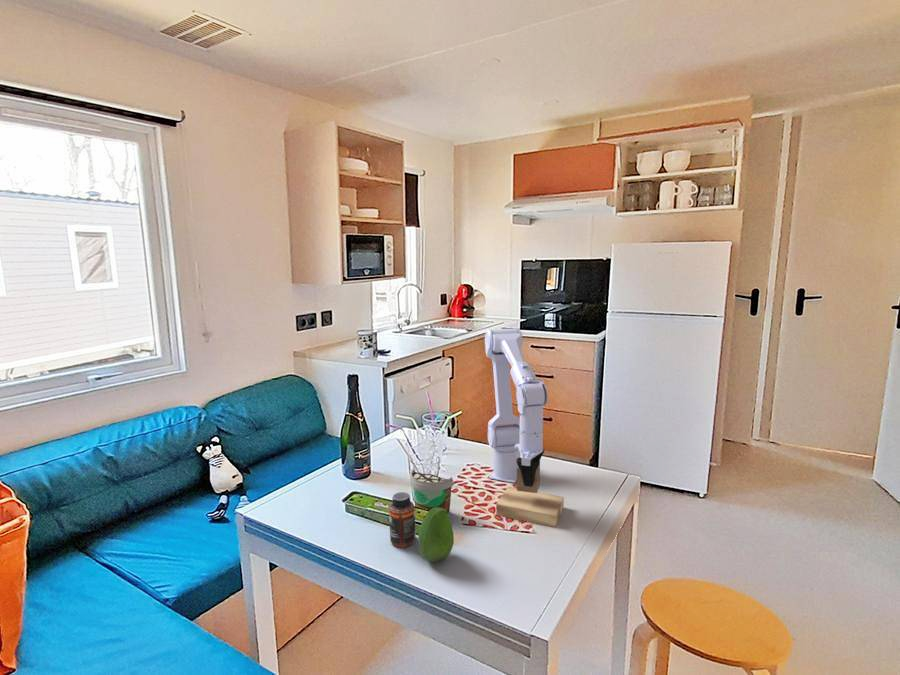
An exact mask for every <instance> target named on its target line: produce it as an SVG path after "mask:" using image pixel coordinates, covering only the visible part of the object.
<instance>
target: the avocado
mask: <svg viewBox="0 0 900 675" xmlns="http://www.w3.org/2000/svg"><path fill="white" fill-rule="evenodd" d="M423 518H424V519H423V520H422V522H421V524H420V527H419V530H418V536H417V537H418V546H419V550H420V553H421V555H422V557H423V558H424V559H426V561H428V562H432V563H438V562H442V561H444V560H445V559H447V558H448V557H449V555H450V554H451V552H452V549H453V548H454V542H455V541H454V537H455V535H454V534H455V533H454V529H453V526H452V521H451V519H450V518H451V517H450V515H449V513H447V511H446V510H445V509H444V508H432V509H431V510H429V511H428V513H427V514H426V516H425V517H423Z"/></svg>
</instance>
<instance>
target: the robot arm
mask: <svg viewBox="0 0 900 675" xmlns="http://www.w3.org/2000/svg"><path fill="white" fill-rule="evenodd" d="M523 342H524V340H523V333H522V331H521V329H520V328H518V327H515V328H498V329H494V328H493V329H490V328H489V329H487V330H486V332H485V334H484V348H485V356H486V358H488V359H490V360H491V363H492V368H493V370H492V371H493V383H494V384H493V386H494V395H495V396H494V398H495V410H496V411H495V412H496V414H495V415H494V416H493V417H492V418H491V419H489V421H488V423H487V442H488V444H489V446H490V447H491V449H493V470H492V472H491V473H490V475H489V476H488V478H489V479H491V480H496V481H501V482H502V481H503V482H506V483H507V482H509V483H513V484H515V483H517V467H519V469H520V471H521V474H522V478H523V483H524V486H529V487H532V486H533V484H534V479H535V473H536V469H537V468H538V466H539V464H540V465H541V458H542V456H543V455H544V453H545V448H544V446H543V437H544V436H543V432H544V431H543V430H544V429H543V428H544V406H546V405H547V402H548V390H547V387H546V384H545V383H544V382H543V381H541V379H538V377H537V376H536V374H535V371H534V369H533V368H532V365H531V364H530V363H529V362H526V361H525V359H524V355H523V353H522V345H523ZM510 366H511V368H510ZM511 379H512V382H513V383H514V386H515V389H516V393H515V396H516V403H517V411H518V412H519V417H518V416H516V415H515V414H513V412H514V411H513V398H512V387H511Z"/></svg>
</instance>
